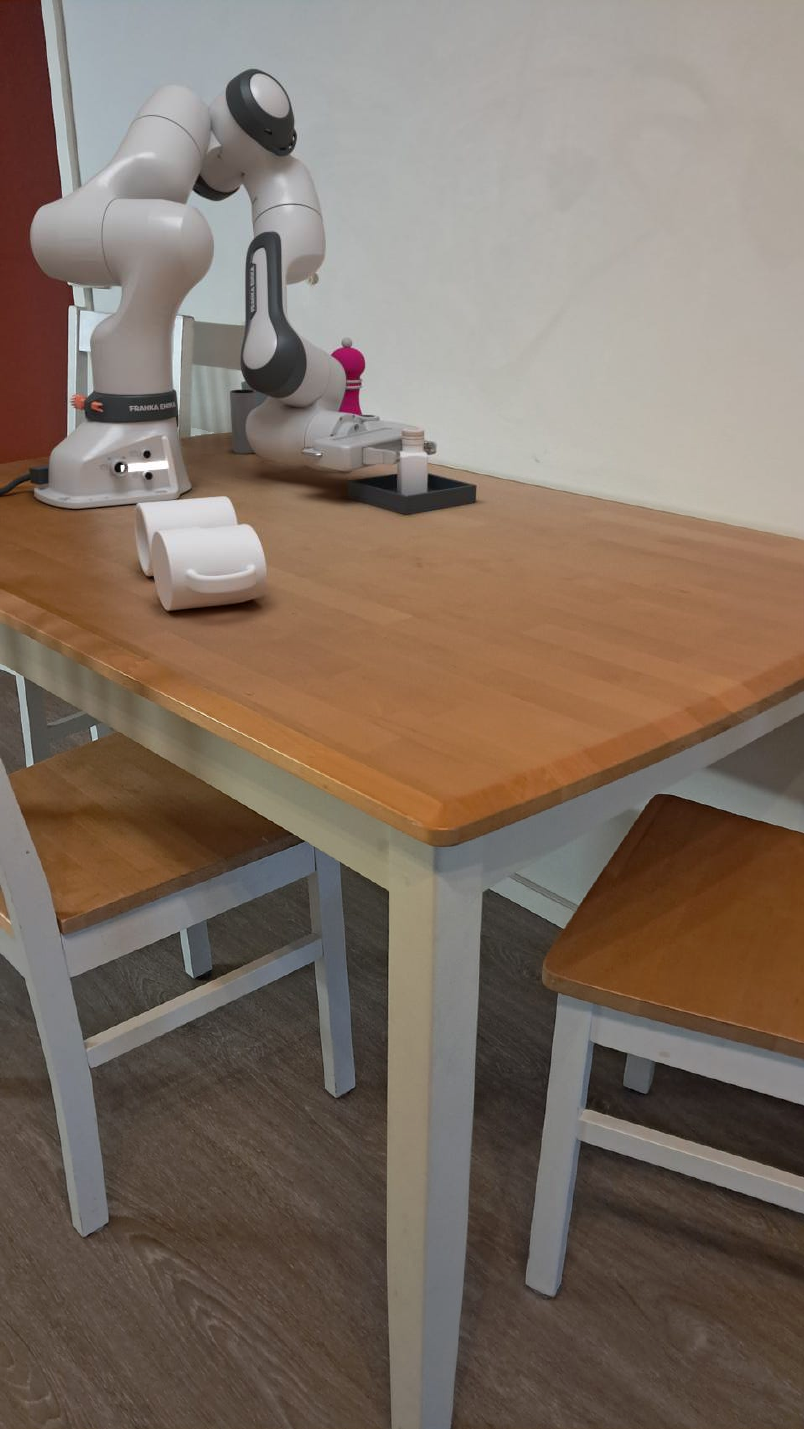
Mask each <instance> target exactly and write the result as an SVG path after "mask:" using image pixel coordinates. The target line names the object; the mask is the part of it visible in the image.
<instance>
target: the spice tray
mask: <svg viewBox="0 0 804 1429" xmlns="http://www.w3.org/2000/svg"><path fill="white" fill-rule="evenodd" d="M477 488H478V487H477V484H473V483H469V482H465V481H461V480H457V479H453V478H449V477H445V476H441V475H437V474H433V473H429V472H428V486H427V492H426V493H420V494H414V495H407V496H406V495H402V494H398V491H397V473H390V474H386V475H385V474H383V475H377V476H370V477H364V478H359V479H358V478H357V479H351V480H350V479H349V480H347V497H348V499H350V500H354V501H357V502H361V503H364V504H367V505H370V506H371V505H372V506H374V507H377V508H382V509H384V510H388V511H391V512H395V513H398V514H401V515H405V516H407V515H412V514H419V513H424V512H429V511H436V510H440V509H441V510H442V509H446V508H452V507H458V506H463V505H469V504H475V503H476V502H477Z"/></svg>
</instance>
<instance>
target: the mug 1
mask: <svg viewBox="0 0 804 1429" xmlns="http://www.w3.org/2000/svg"><path fill="white" fill-rule="evenodd" d="M133 513H134V514H133V529H134V530H133V532H134V539H135V547H136V553H137V557H138V560H139V564H140V567H141V569H142V572H143V574H144V575H145V576H146V577H154V574H153V567H152V553H151V548H152V538H153V535H154V533H155V532H156V531H162V530H171V529H179V528H188V527H196V526H198V527H200V528H204V529H207V528H215V527H224V526H232V525H239V522H238V518H237V513H236V511H235V507H234V504H233V503H232V501H231V500H230V498H229V497H227V496H225V495H223V496H222V495H221V496H207V497H197V498H183V499H174V500H164V501H153V502H143V503H136V505H135V507H134V512H133Z"/></svg>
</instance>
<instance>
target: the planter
mask: <svg viewBox="0 0 804 1429" xmlns="http://www.w3.org/2000/svg"><path fill="white" fill-rule="evenodd" d="M229 404H230V421H231V425H230V426H231V443H232V445H231V446H232V452H233V453H236V454H245V455H246V454H256V453H255V452H254V451H253V449H252V448H251V446H250V444H249V442H248V440H247V436H246V420H247V417H248V415H249V413H250V412H251V411H252V410H253V409H255V408H257V396H256V391H255V390H242V389H233V390H230V391H229Z"/></svg>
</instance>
